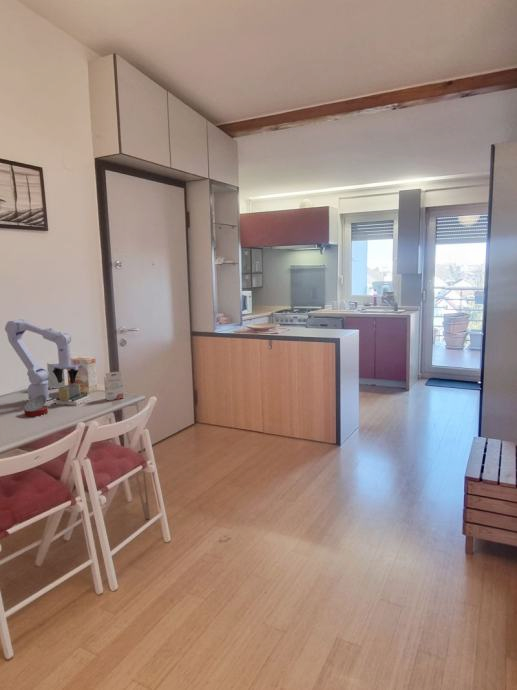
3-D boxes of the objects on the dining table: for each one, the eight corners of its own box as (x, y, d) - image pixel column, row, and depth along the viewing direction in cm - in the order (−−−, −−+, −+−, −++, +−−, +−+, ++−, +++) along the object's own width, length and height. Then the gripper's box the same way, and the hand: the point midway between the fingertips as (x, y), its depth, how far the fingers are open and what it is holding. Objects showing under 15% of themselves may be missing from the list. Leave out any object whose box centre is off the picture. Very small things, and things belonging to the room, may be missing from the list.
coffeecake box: (68, 391, 256) (65, 357, 253) (77, 388, 262) (75, 355, 259) (88, 393, 250) (86, 359, 247) (98, 390, 257) (95, 357, 254)
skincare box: (50, 389, 261) (48, 364, 259) (48, 387, 266) (46, 362, 264) (65, 387, 266) (63, 362, 264) (63, 385, 271) (61, 361, 268)
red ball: (48, 423, 214) (50, 407, 210) (24, 425, 209) (25, 408, 204) (45, 407, 222) (47, 391, 218) (22, 408, 217) (24, 392, 212)
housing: (72, 395, 238) (71, 383, 237) (80, 396, 237) (80, 384, 236) (59, 400, 229) (58, 388, 228) (67, 401, 227) (67, 388, 226)
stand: (53, 403, 231) (53, 398, 230) (68, 398, 241) (67, 392, 241) (76, 405, 227) (76, 399, 227) (90, 399, 237) (90, 394, 237)
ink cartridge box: (121, 396, 243) (120, 369, 241) (123, 398, 239) (122, 371, 237) (105, 398, 239) (103, 371, 237) (106, 400, 235) (105, 373, 233)
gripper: (47, 358, 231) (49, 383, 233) (71, 359, 227) (73, 385, 229) (56, 355, 238) (58, 380, 240) (80, 356, 234) (82, 382, 236)
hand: (66, 382), depth 235 cm, fingers open, 7 cm apart
